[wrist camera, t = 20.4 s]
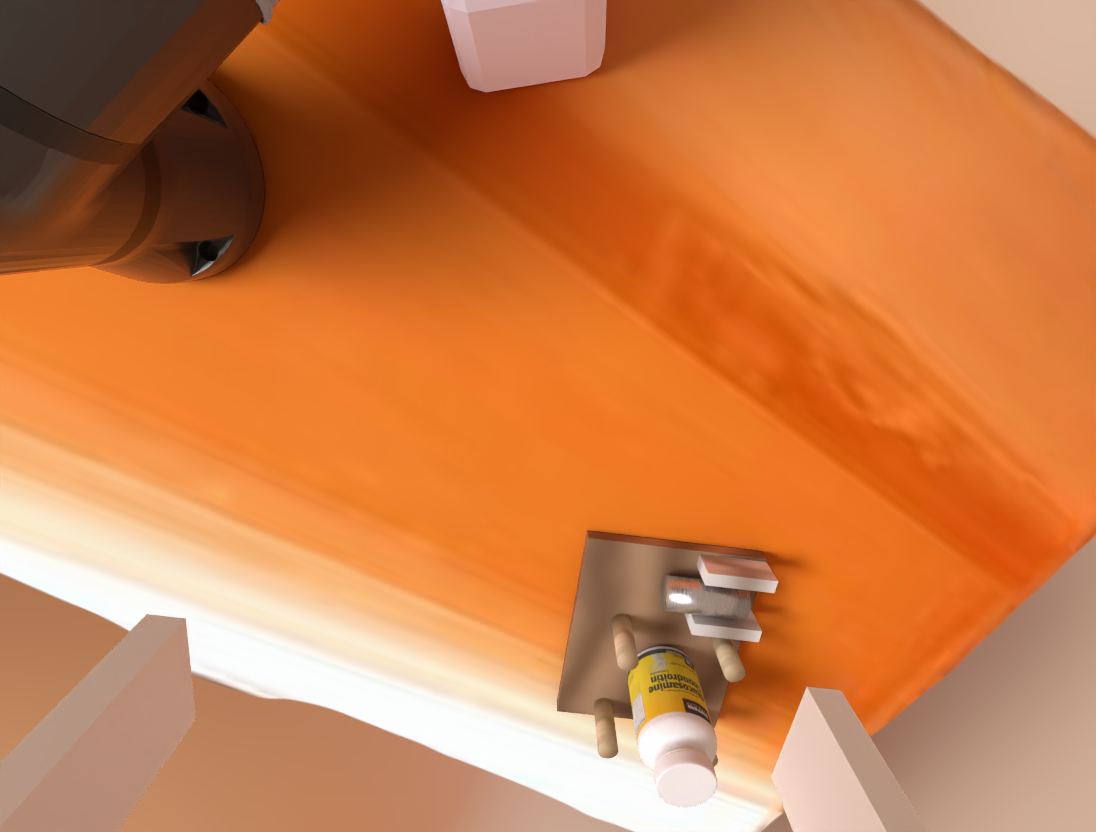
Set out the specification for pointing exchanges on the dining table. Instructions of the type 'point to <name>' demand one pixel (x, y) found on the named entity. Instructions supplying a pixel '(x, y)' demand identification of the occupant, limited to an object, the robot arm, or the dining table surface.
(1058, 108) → the dining table surface
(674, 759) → the pill bottle
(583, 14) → the soap bottle
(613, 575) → the board
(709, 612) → the pin
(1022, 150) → the dining table surface
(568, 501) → the dining table surface
